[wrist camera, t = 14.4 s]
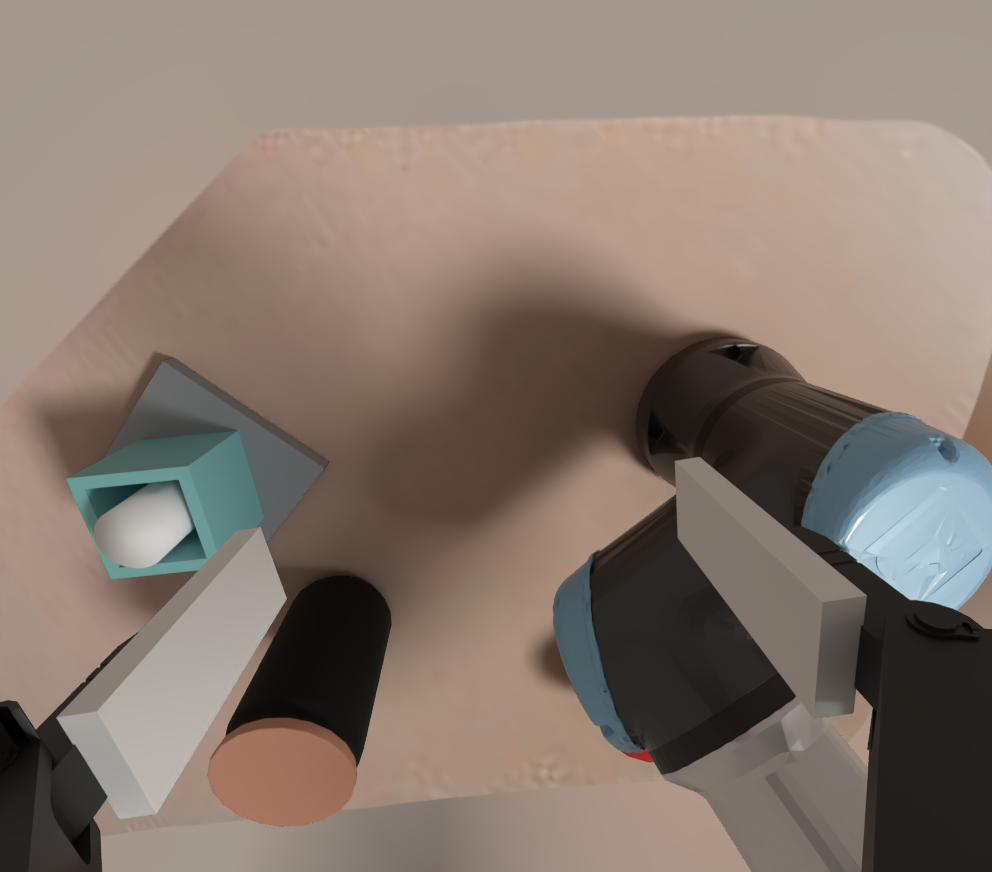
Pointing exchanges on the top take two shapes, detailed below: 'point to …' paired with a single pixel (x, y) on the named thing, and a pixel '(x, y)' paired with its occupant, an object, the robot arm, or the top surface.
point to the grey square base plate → (162, 505)
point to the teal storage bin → (204, 481)
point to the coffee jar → (306, 708)
